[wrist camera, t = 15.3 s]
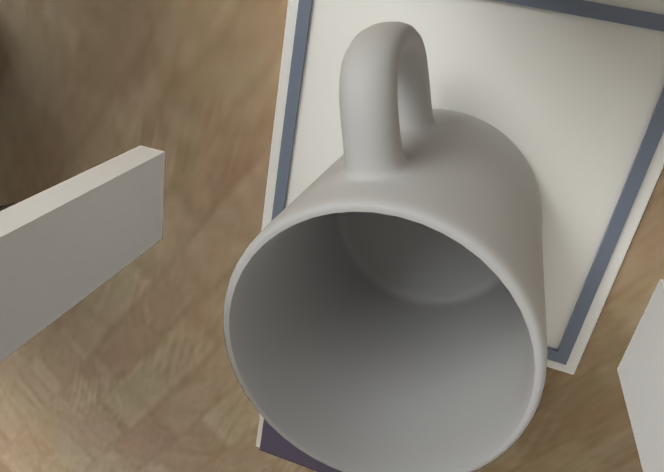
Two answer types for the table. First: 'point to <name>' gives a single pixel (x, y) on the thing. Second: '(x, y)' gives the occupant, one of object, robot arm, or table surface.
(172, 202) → the table surface
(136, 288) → the table surface
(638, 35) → the print card
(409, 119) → the mug
